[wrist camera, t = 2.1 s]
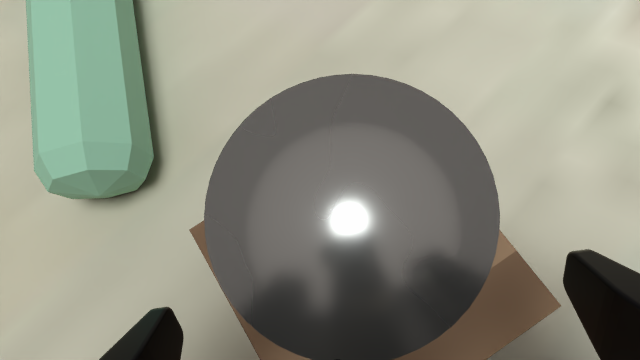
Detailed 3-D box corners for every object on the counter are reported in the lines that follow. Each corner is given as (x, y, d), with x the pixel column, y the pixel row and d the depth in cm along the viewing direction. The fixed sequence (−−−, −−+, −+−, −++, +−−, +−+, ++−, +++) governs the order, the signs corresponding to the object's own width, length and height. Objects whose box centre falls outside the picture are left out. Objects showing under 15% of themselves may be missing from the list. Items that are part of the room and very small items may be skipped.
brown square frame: (528, 303, 17) (561, 305, 14) (331, 443, 16) (323, 475, 13) (387, 125, 20) (391, 97, 17) (216, 239, 19) (189, 229, 16)
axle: (416, 280, 18) (569, 245, 4) (352, 324, 17) (301, 434, 4) (371, 217, 19) (380, 27, 5) (310, 258, 18) (157, 171, 5)
